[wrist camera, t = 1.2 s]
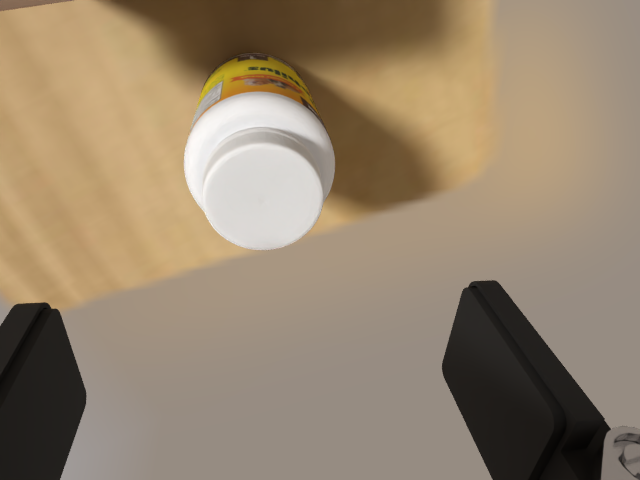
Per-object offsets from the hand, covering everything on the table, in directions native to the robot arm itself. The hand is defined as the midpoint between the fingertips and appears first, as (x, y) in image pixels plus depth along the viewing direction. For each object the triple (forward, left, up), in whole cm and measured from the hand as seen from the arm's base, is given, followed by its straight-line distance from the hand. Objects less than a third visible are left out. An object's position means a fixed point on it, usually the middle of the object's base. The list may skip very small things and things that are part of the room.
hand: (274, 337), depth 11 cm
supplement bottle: (-1, 0, -16) cm, 16 cm away
